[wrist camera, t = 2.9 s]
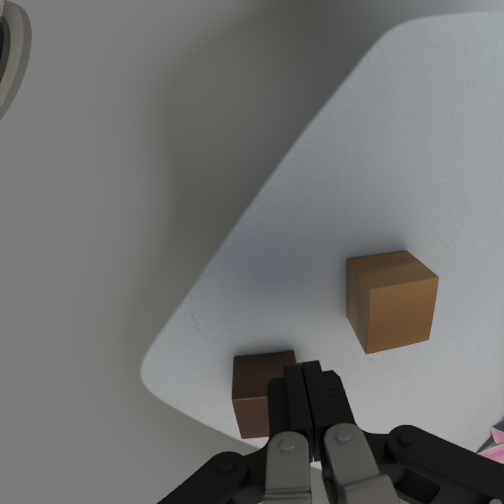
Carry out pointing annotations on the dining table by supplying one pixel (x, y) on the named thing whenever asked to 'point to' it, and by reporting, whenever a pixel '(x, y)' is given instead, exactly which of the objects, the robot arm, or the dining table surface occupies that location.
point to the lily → (496, 447)
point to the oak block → (390, 300)
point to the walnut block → (255, 390)
